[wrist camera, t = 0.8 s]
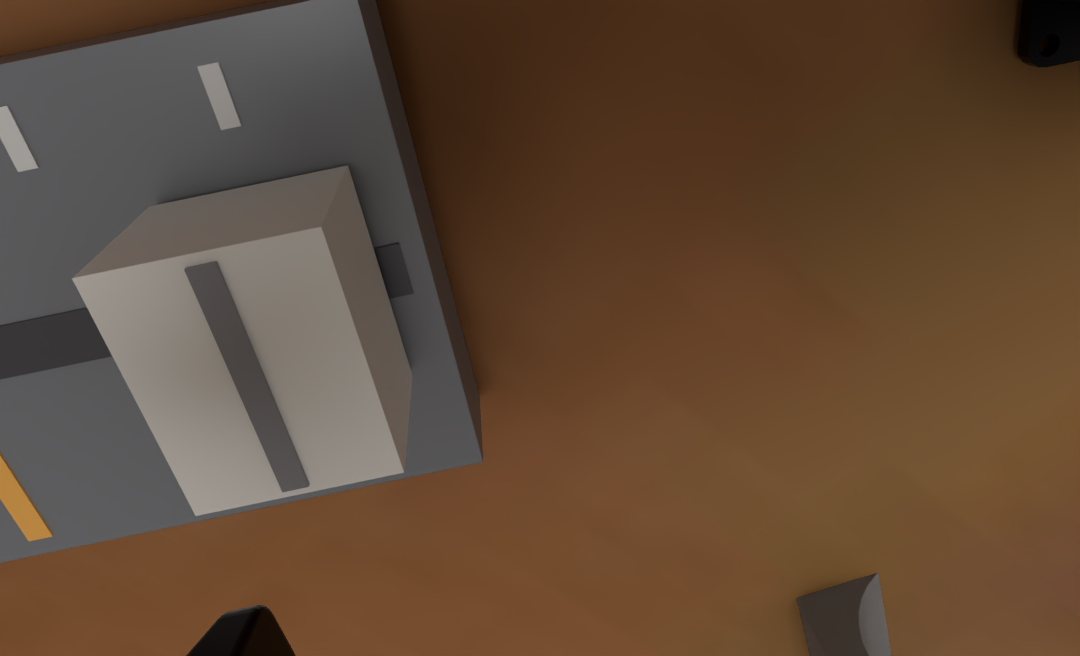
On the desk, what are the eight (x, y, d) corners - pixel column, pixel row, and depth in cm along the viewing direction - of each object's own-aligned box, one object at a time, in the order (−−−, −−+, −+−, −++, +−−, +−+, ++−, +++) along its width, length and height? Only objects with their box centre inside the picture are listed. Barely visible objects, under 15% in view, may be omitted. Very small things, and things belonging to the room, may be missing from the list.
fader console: (370, -20, 17) (354, -9, 14) (479, 396, 22) (483, 463, 19) (-446, 149, 17) (-622, 192, 14) (-143, 526, 22) (-227, 611, 19)
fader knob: (348, 165, 15) (319, 228, 12) (412, 376, 18) (404, 476, 14) (149, 206, 15) (68, 281, 12) (240, 411, 18) (193, 519, 14)
